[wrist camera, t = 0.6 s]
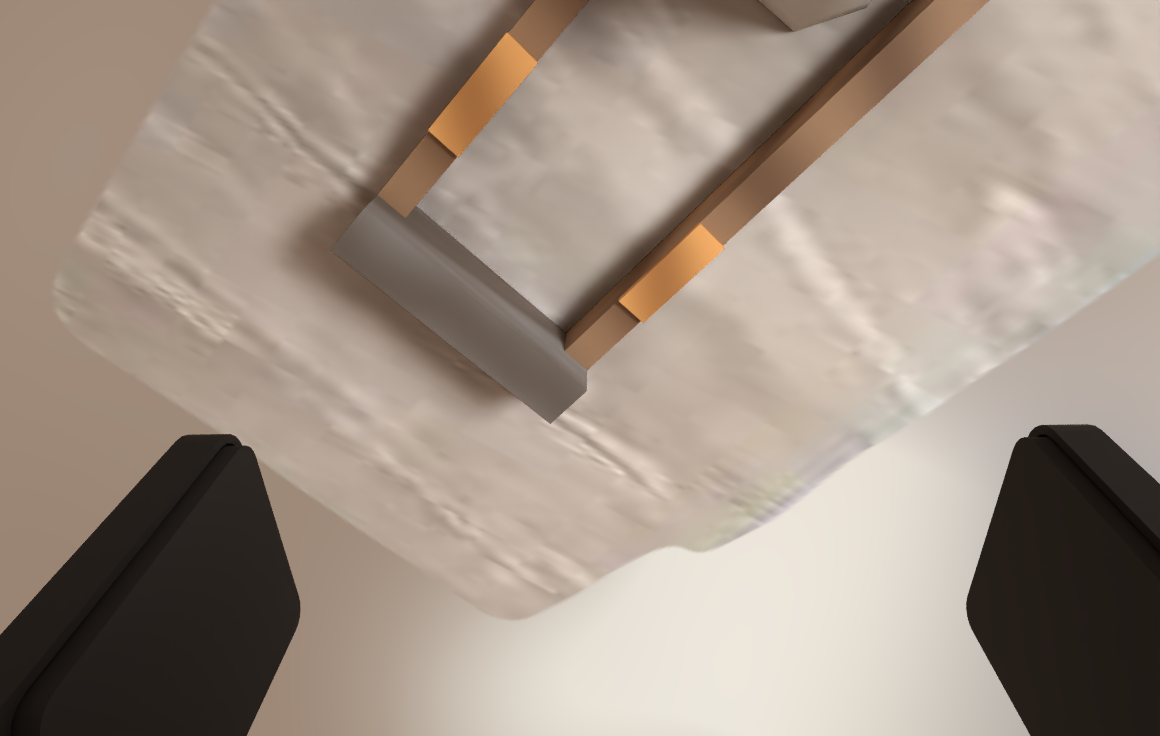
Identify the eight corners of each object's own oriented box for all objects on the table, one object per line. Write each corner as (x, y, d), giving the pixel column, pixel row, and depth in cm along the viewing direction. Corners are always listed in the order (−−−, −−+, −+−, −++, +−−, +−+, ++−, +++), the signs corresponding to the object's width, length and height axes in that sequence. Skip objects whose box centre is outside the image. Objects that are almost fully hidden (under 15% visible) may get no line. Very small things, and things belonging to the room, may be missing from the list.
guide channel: (875, -419, 23) (924, -489, 20) (1076, -103, 27) (1146, -114, 24) (357, 221, 34) (329, 249, 30) (555, 382, 38) (551, 424, 34)
